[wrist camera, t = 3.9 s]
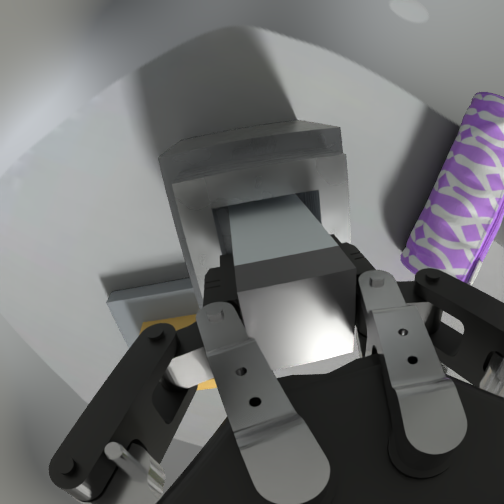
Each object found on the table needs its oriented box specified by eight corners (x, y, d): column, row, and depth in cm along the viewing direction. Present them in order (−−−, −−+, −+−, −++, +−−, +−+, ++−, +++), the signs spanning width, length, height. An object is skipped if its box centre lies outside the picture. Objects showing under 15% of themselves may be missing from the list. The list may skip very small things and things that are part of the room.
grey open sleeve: (297, 120, 25) (363, 131, 13) (309, 226, 29) (365, 306, 17) (180, 140, 24) (145, 168, 13) (205, 246, 29) (198, 341, 17)
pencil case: (432, 278, 34) (476, 322, 25) (380, 260, 32) (424, 310, 23) (499, 122, 25) (557, 137, 17) (453, 79, 23) (518, 83, 15)
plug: (291, 189, 17) (356, 268, 9) (298, 247, 19) (352, 351, 11) (227, 201, 17) (236, 292, 9) (239, 258, 19) (256, 373, 10)
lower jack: (242, 268, 30) (246, 296, 26) (262, 365, 36) (268, 395, 32) (111, 291, 30) (97, 320, 26) (155, 379, 36) (150, 410, 32)
